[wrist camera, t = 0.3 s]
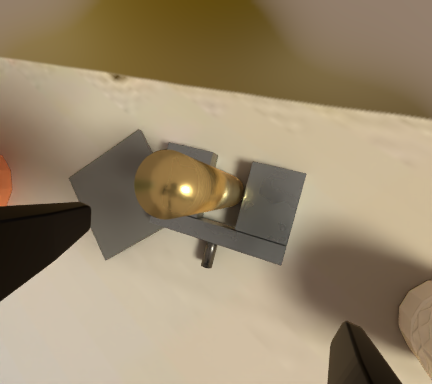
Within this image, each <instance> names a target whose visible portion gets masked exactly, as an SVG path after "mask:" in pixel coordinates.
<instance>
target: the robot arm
mask: <svg viewBox="0 0 432 384" xmlns="http://www.w3.org/2000/svg"><path fill="white" fill-rule="evenodd" d="M90 226H91V207H90V206H89V205H87V204H85V203H82V202H69V203H51V204H34V205H16V206H0V301H2V300H3V299H4V298H6V297H7V296H8V295H10V294H11V293H12V292H14V291H15V290H16V289H18V288H19V287H20V286H22V285H23V284H24V283H26V282H27V281H28V280H30V279H31V278H32V277H34V276H35V275H36V274H38V273H39V272H40V271H42V270H43V269H44V268H46V267H47V266H48V265H50V264H51V263H52V262H53V261H55V260H56V259H57V258H58V257H59V256H61V255H62V254H63V253H64V252H65V251H66V250H67V249H68V248H70V247H71V246H72V245H73V244H74V243H75V242H76V241H77V240H79V239H80V238H81V237H82V236H83V235H84V234H85V233H86V232H87V231H88V230H89V229H90ZM327 384H402V383H401V381H400V380H399V379H398V377H397V376H396V374H395V373H394V372H393V370H392V369H391V367H390V366H389V365H388V363H387V362H386V361H385V359H384V358H383V356H382V355H381V354H380V352H379V351H378V349H377V348H376V347H375V345H374V344H373V343H372V341H371V340H370V338H369V337H368V336H367V334H366V333H365V332H364V330H363V329H362V328H361V327H360V326H357V325H355V324H353V323H351V322H348V321H345V322H343V323H342V325H341V326H340V328H339V330H338V331H337V333H336V335H335V336H334V338H333V340H332V342H331V346H330V356H329V370H328V383H327Z"/></svg>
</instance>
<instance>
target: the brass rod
mask: <svg viewBox="0 0 432 384" xmlns="http://www.w3.org/2000/svg"><path fill="white" fill-rule="evenodd" d="M134 189H135V195H136V198H137V200H138V202H139V204H140V206H141V207H142V208H143V209H144V211H145V212H147V213H148V214H149V215H151V216H153V217H155V218H158V219H164V220H165V219H174V218H179V217H183V216H188V215H193V214H198V213H203V212H208V211H213V210H217V209H222V208H227V207H232V206H235V205H237V204H238V203H239V202H240V201H241V200H242V198H243V195H244V187H243V184H242V182H241V181H240V180H239V179H238V178H237V177H235V176H233V175H231V174H228V173H226V172H224V171H221V170H219V169H217V168H214V167H212V166H210V165H208V164H205V163H203V162H201V161H198V160H196V159H194V158H191V157H189V156H187V155H185V154H182V153H180V152H177V151H175V150H167V149H165V150H159V151H156V152H154V153H152V154H150V155H149V156H147V157H146V158H145V159H144V160H143V161H142V163H141V164H140V166H139V167H138V170H137V172H136V175H135V181H134Z"/></svg>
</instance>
